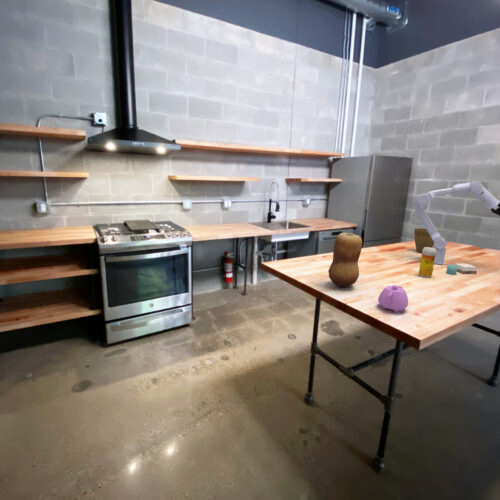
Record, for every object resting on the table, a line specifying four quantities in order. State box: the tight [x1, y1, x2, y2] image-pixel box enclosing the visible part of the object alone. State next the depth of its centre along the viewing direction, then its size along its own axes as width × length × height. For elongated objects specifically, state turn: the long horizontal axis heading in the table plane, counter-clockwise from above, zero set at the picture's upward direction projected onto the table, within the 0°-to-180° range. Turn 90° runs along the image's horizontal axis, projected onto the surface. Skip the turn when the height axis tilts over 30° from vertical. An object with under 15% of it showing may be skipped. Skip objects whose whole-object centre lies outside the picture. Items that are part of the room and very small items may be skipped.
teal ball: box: [445, 263, 458, 276], centre depth 161 cm, size 5×5×5 cm
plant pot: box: [413, 228, 440, 254], centre depth 207 cm, size 15×15×16 cm
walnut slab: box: [456, 269, 478, 275], centre depth 166 cm, size 8×8×2 cm
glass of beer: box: [418, 247, 436, 278], centre depth 155 cm, size 6×6×15 cm
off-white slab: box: [454, 263, 477, 271], centre depth 165 cm, size 7×7×2 cm
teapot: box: [377, 284, 409, 314], centre depth 116 cm, size 10×15×9 cm
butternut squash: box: [327, 232, 363, 288], centre depth 137 cm, size 14×13×25 cm
